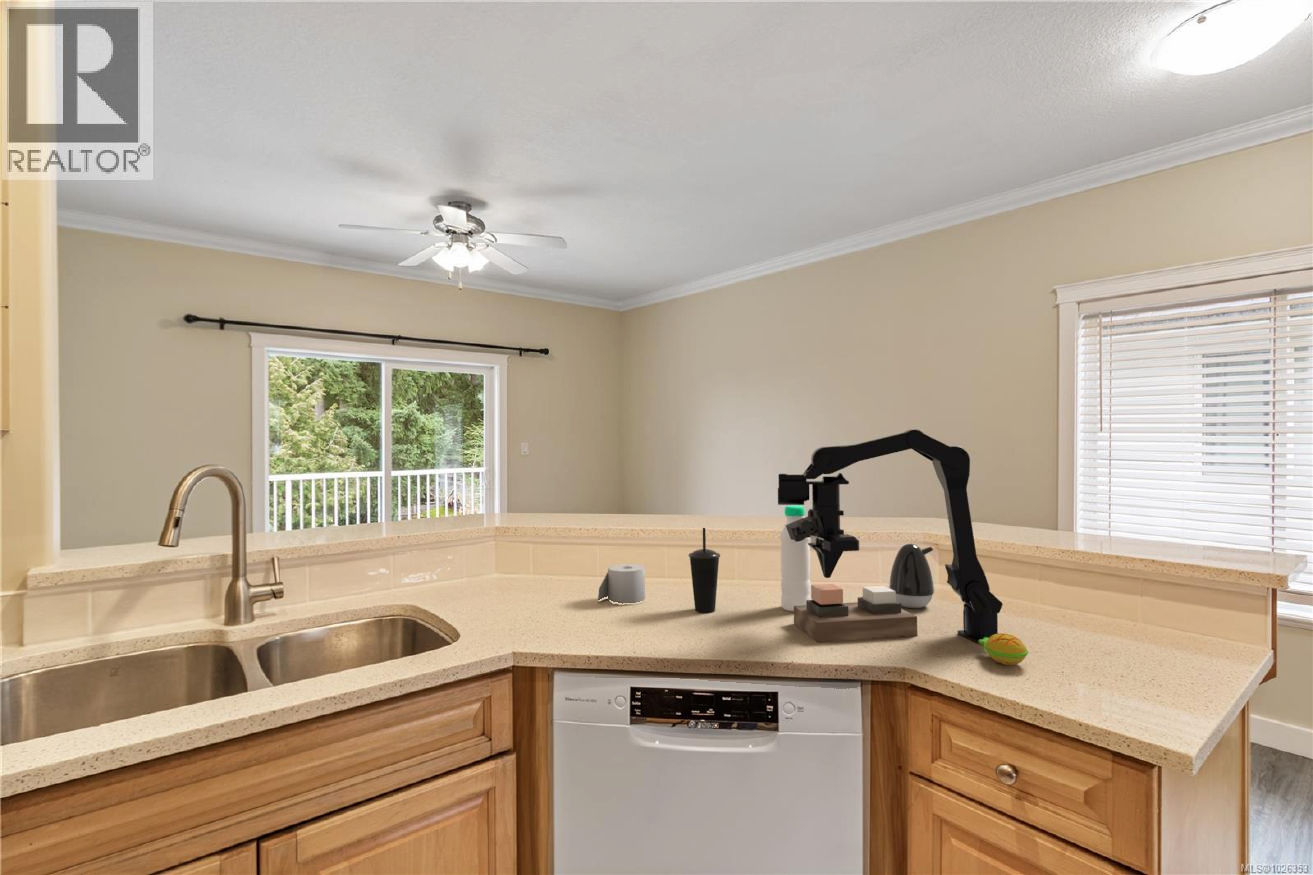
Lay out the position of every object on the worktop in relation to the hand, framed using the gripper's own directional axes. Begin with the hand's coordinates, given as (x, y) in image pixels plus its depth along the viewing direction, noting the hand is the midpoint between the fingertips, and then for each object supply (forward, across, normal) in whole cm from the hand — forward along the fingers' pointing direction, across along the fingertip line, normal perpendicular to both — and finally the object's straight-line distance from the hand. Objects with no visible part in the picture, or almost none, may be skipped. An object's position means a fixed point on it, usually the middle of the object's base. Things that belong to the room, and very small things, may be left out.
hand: (827, 577), depth 134 cm
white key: (+6, 0, +12) cm, 13 cm away
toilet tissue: (+12, -34, -41) cm, 55 cm away
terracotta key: (+5, 0, 0) cm, 5 cm away
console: (+12, 0, +6) cm, 13 cm away
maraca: (+12, +23, +24) cm, 35 cm away
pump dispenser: (+12, -15, +29) cm, 34 cm away
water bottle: (+12, -18, 0) cm, 21 cm away
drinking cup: (+12, -21, -22) cm, 33 cm away
